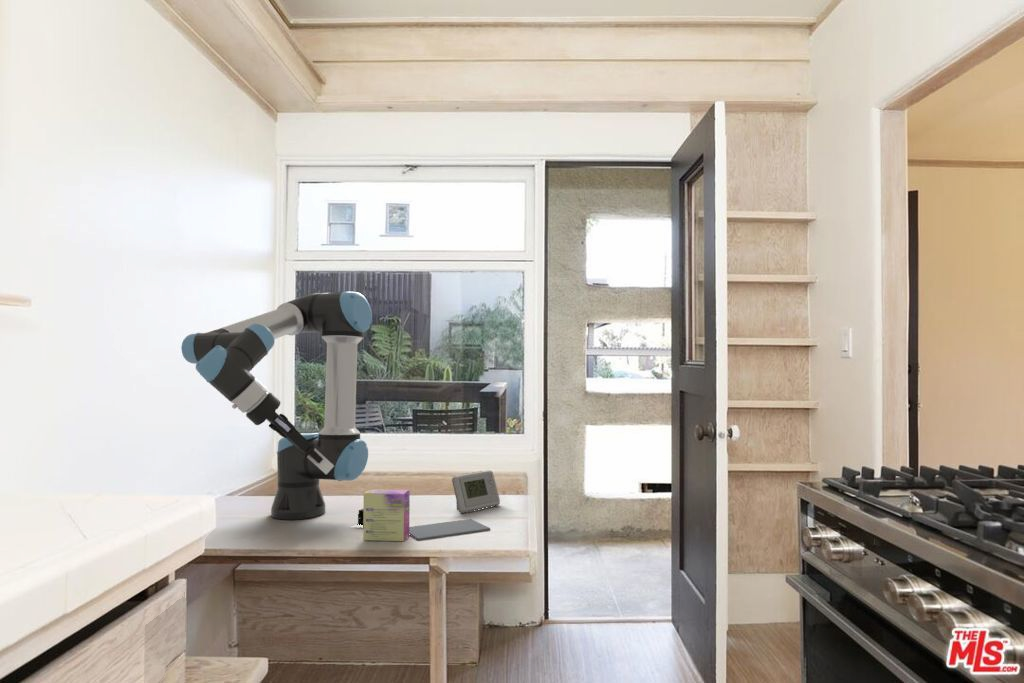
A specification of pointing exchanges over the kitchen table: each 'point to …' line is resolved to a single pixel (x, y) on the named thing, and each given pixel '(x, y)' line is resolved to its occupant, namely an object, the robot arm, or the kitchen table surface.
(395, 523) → the box
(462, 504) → the digital clock
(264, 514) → the kitchen table surface
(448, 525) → the mat
